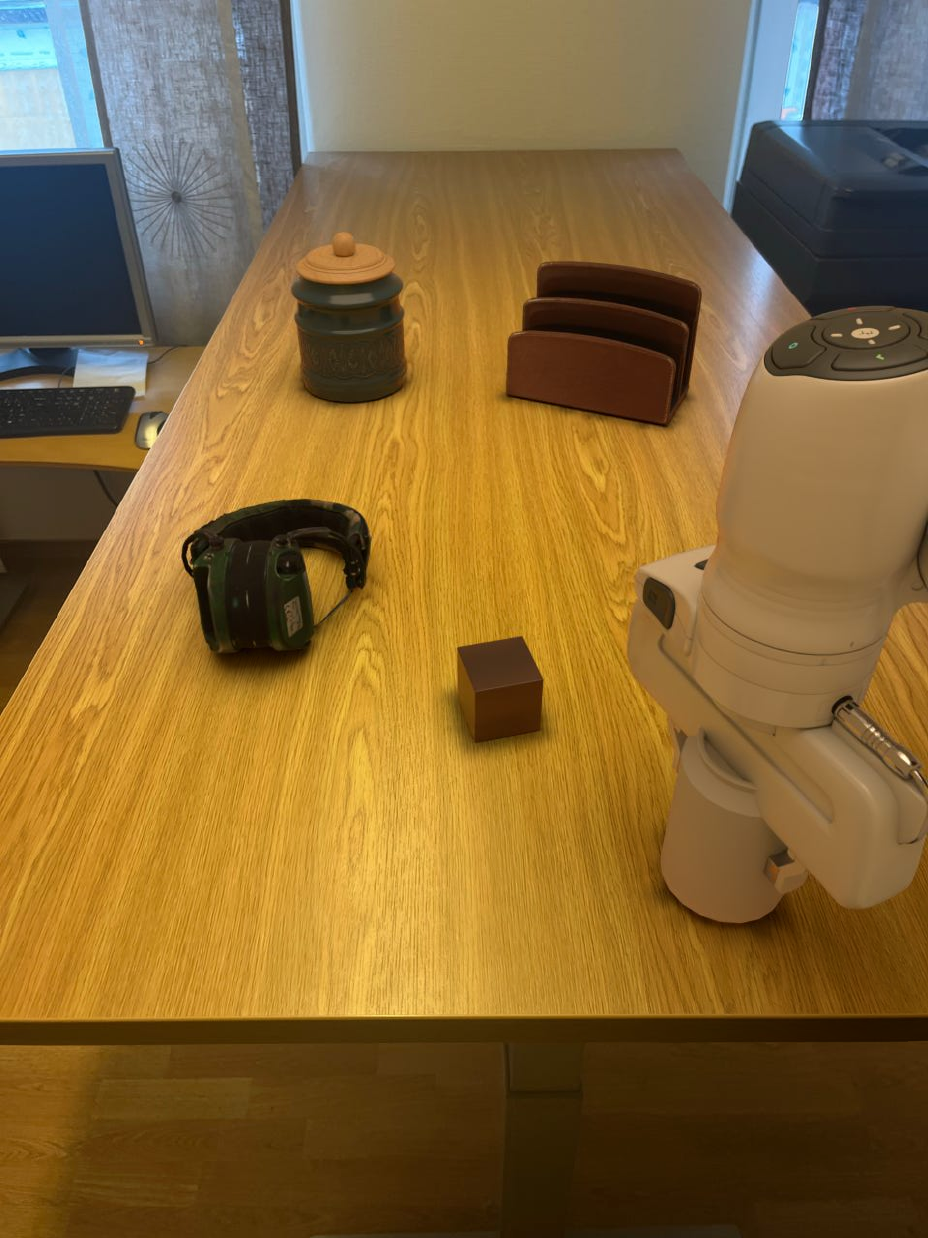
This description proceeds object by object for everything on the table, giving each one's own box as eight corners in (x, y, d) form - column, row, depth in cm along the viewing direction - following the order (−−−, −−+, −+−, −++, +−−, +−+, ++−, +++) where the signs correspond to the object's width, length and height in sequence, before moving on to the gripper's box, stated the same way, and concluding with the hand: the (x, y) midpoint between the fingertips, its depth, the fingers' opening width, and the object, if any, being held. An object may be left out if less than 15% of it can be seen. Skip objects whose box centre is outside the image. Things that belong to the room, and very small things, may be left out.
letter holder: (535, 365, 120) (540, 251, 111) (689, 393, 113) (707, 274, 105) (504, 396, 113) (507, 277, 104) (666, 427, 106) (684, 303, 97)
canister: (330, 354, 123) (316, 212, 112) (423, 367, 119) (418, 222, 108) (283, 395, 113) (263, 244, 102) (382, 411, 110) (372, 256, 99)
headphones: (389, 615, 70) (389, 511, 88) (244, 503, 65) (275, 415, 82) (276, 726, 74) (297, 605, 92) (132, 629, 69) (183, 520, 87)
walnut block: (540, 730, 69) (544, 679, 66) (474, 743, 68) (474, 691, 65) (520, 685, 73) (522, 635, 70) (457, 697, 72) (456, 646, 69)
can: (653, 917, 56) (681, 781, 49) (663, 821, 62) (689, 686, 55) (783, 944, 55) (832, 808, 48) (780, 843, 61) (824, 707, 53)
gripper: (1000, 763, 40) (907, 947, 49) (711, 527, 55) (678, 701, 64) (888, 812, 38) (811, 994, 47) (619, 553, 53) (597, 729, 61)
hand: (733, 823), depth 55 cm, fingers closed on can, 7 cm apart
